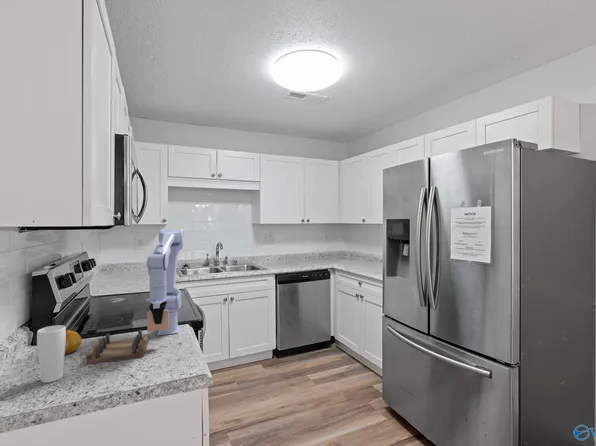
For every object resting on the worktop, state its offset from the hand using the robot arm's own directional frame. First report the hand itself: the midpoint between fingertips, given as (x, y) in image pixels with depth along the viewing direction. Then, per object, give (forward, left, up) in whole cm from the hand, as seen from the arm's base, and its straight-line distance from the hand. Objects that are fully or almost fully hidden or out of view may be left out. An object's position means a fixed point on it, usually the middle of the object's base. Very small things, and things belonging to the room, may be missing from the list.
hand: (158, 322), depth 118 cm
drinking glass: (+16, -28, -9) cm, 33 cm away
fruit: (-6, -31, -9) cm, 33 cm away
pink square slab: (0, 0, -2) cm, 3 cm away
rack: (0, -13, -9) cm, 16 cm away
